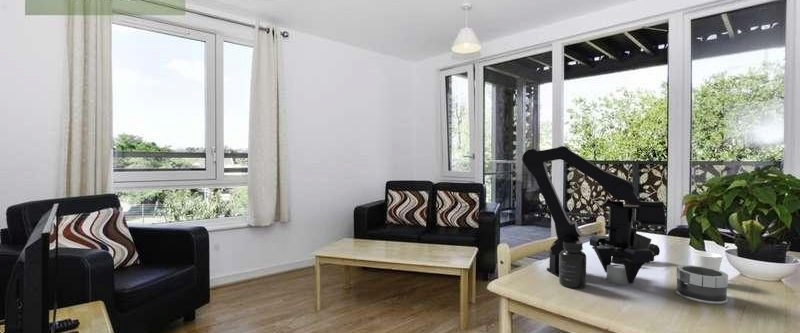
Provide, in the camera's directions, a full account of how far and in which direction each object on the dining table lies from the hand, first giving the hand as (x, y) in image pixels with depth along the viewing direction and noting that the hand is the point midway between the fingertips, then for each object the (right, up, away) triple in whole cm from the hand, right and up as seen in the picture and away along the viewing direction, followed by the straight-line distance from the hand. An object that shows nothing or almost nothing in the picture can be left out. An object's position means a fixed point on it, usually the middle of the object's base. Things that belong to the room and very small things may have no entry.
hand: (618, 277), depth 108 cm
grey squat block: (0, -1, 0) cm, 1 cm away
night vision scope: (+15, -1, +20) cm, 25 cm away
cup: (+26, -1, +1) cm, 26 cm away
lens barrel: (+15, -2, -11) cm, 18 cm away
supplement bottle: (-15, -1, -3) cm, 15 cm away
